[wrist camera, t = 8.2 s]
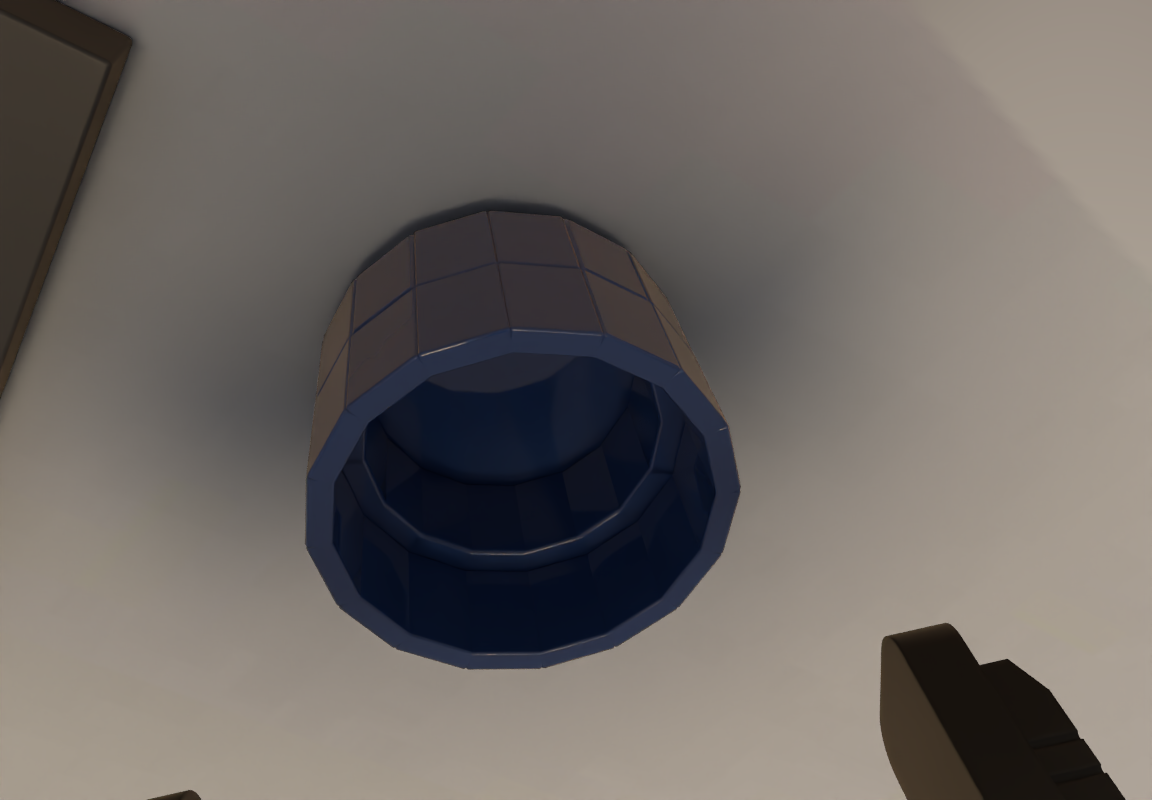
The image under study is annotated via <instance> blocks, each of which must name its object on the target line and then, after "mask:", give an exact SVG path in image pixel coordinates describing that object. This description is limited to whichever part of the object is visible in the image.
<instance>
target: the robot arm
mask: <svg viewBox="0 0 1152 800" xmlns="http://www.w3.org/2000/svg"><path fill="white" fill-rule="evenodd" d="M880 725H881V732H882V737H883V741H884V745H885V749H886V752H887V755H888V758H889V761H890V764H891V766H892V769H893V771H894V773H895V775H896V778H897V780H898V782H899V784H900V786H901V788H902V790H903V792H904V794H905V796H906V798H907V800H1125V798H1124V797H1123V795H1122V794H1121V792H1120V791H1119V790H1118V788H1117V787H1116V785H1115V784H1114V782H1113V781H1112V779H1111V778H1110V777H1109V775H1108V774H1107V773H1104V772H1103V770H1102V768H1101V764H1100V762H1099V761H1098V759H1097V758H1096V756H1095V755H1094V754H1093V752H1092V751H1091V749H1090V748H1089V746H1088V745H1087V743H1086V742H1085V741H1084V739H1080V737H1079V735H1078V730H1077V729H1076V728H1075V726H1074V725H1073V723H1072V722H1071V720H1070V719H1069V718H1068V716H1067V715H1066V713H1065V712H1064V710H1063V709H1062V707H1061V706H1060V705H1059V703H1058V702H1057V700H1056V699H1055V697H1054V696H1053V694H1052V693H1051V692H1050V690H1049V689H1047V688H1046V687H1045V686H1043V685H1042V684H1041V683H1039V682H1038V681H1037V680H1035V679H1034V678H1033V677H1031V676H1030V675H1028V674H1027V673H1026V672H1024V671H1023V670H1022V669H1020V668H1019V667H1018V666H1016V665H1015V664H1014V663H1012V662H1011V661H1010V660H1008V659H1005V660H1000V661H996V662H992V663H987V664H983V665H979V664H978V662H977V660H976V659H975V657H974V656H973V654H972V653H971V651H970V649H969V648H968V646H967V645H966V643H965V642H964V640H963V639H962V637H961V636H960V634H959V633H958V631H957V630H956V629H955V628H954V627H953V626H952V625H950V624H948V623H943V624H938V625H934V626H929V627H925V628H920V629H916V630H911V631H907V632H903V633H898V634H894V635H889V636H886V637H884V639H883V641H882V648H881V690H880ZM148 800H201V798H200V797H199V795H198V794H197V793H196V792H194V791H192V790H188V791H183V792H179V793H174V794H170V795H166V796H161V797H157V798H152V799H148Z"/></svg>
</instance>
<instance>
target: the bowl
mask: <svg viewBox="0 0 1152 800" xmlns="http://www.w3.org/2000/svg"><path fill="white" fill-rule="evenodd" d="M740 488H741V485H740V480H739V475H738V470H737V465H736V460H735V455H734V450H733V445H732V439H731V434H730V429H729V425H728V423H727V421H726V419H725V417H724V415H723V413H722V411H721V409H720V407H719V405H718V402H717V400H716V398H715V396H714V394H713V392H712V390H711V388H710V386H709V384H708V382H707V380H706V378H705V376H704V373H703V371H702V369H701V367H700V365H699V363H698V361H697V359H696V357H695V355H694V353H693V351H692V349H691V347H690V345H689V343H688V341H687V339H686V337H685V335H684V333H683V331H682V328H681V326H680V324H679V322H678V320H677V318H676V316H675V314H674V312H673V310H672V308H671V306H670V304H669V301H668V299H667V297H666V296H665V295H664V294H663V292H662V291H661V290H660V289H659V287H658V286H657V285H656V284H655V282H654V281H653V280H652V279H651V277H650V276H649V275H648V274H647V272H646V271H645V270H644V269H643V267H642V266H641V265H640V264H639V262H638V261H637V260H636V259H635V257H634V256H633V255H632V254H631V252H629V251H626V250H625V249H624V248H623V247H621V246H620V245H618V244H616V243H614V242H612V241H610V240H608V239H606V238H604V237H602V236H600V235H598V234H596V233H594V232H592V231H590V230H588V229H586V228H584V227H582V226H580V225H578V224H576V223H574V222H572V221H570V220H566V219H565V220H564V219H563V217H561V216H549V215H537V214H525V213H513V212H501V211H489V212H487V211H483V212H480V213H476V214H473V215H469V216H466V217H463V218H459V219H456V220H452V221H449V222H446V223H442V224H439V225H435V226H432V227H428V228H425V229H422V230H418V231H415V232H414V235H410V236H408V237H407V238H405V239H404V240H403V241H402V242H400V243H399V244H398V245H397V246H395V247H394V248H393V249H392V250H390V251H389V252H388V253H386V254H385V255H384V256H383V257H381V258H380V259H379V260H378V261H376V262H375V263H374V264H372V265H371V266H370V267H369V268H367V269H366V270H365V271H364V272H362V273H361V274H360V275H358V277H357V279H356V280H354V281H352V283H351V285H350V287H349V289H348V291H347V293H346V295H345V296H344V298H343V300H342V302H341V304H340V306H339V308H338V310H337V312H336V314H335V316H334V317H333V319H332V321H331V323H330V325H329V327H328V329H327V331H326V333H325V335H324V339H323V342H322V348H321V357H320V365H319V373H318V382H317V390H316V399H315V406H314V415H313V423H312V432H311V440H310V448H309V457H308V465H307V474H306V509H305V545H306V549H307V551H308V553H309V555H310V556H311V558H312V560H313V562H314V564H315V566H316V567H317V569H318V571H319V573H320V575H321V577H322V578H323V580H324V582H325V584H326V586H327V588H328V589H329V591H330V593H331V595H332V597H333V599H334V601H335V602H336V604H337V605H338V606H339V608H340V609H341V610H343V611H344V612H345V613H347V614H348V615H349V616H351V617H352V618H354V619H355V620H356V621H358V622H359V623H360V624H362V625H363V626H364V627H366V628H367V629H368V630H370V631H371V632H373V633H374V634H375V635H377V636H378V637H379V638H381V639H382V640H383V641H385V642H386V643H387V644H389V645H390V646H392V647H393V648H396V649H397V650H401V651H404V652H407V653H411V654H414V655H418V656H421V657H424V658H428V659H431V660H435V661H438V662H442V663H445V664H448V665H452V666H455V667H459V668H462V669H465V668H467V669H468V670H474V669H541V668H547V667H550V666H554V665H557V664H561V663H564V662H568V661H571V660H575V659H578V658H582V657H585V656H589V655H592V654H595V653H599V652H602V651H606V650H609V649H613V648H614V646H615V647H617V646H619V645H621V644H622V643H624V642H625V641H627V640H629V639H630V638H632V637H633V636H635V635H637V634H638V633H640V632H641V631H643V630H645V629H646V628H648V627H649V626H651V625H652V624H654V623H656V622H657V621H659V620H660V619H662V618H664V617H665V616H667V615H668V614H670V613H672V612H673V611H675V610H676V609H677V607H680V605H681V604H682V603H683V602H684V600H685V599H686V598H687V597H688V596H689V594H690V593H691V592H692V591H693V589H694V588H695V587H696V586H697V585H698V583H699V582H700V581H701V580H702V578H703V577H704V576H705V575H706V574H707V572H708V571H709V570H710V569H711V567H712V566H713V565H714V564H715V563H716V561H717V560H718V559H719V558H720V556H721V553H723V550H724V547H725V543H726V540H727V537H728V533H729V530H730V526H731V523H732V520H733V516H734V513H735V509H736V506H737V503H738V499H739V496H740V492H741V491H740Z"/></svg>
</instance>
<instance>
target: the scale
mask: <svg viewBox="0 0 1152 800" xmlns="http://www.w3.org/2000/svg"><path fill="white" fill-rule="evenodd" d="M131 46H132V40H131V39H130V38H129V37H128V36H126V35H124V34H122V33H120V32H118V31H116V30H114V29H112V28H110V27H108V26H106V25H104V24H102V23H100V22H98V21H96V20H94V19H92V18H89V17H87V16H85V15H83V14H81V13H79V12H77V11H75V10H73V9H71V8H69V7H67V6H65V5H63V4H61V3H59V2H57V1H55V0H0V398H1V395H2V393H3V390H4V387H5V385H6V382H7V379H8V377H9V374H10V371H11V368H12V366H13V363H14V360H15V358H16V355H17V352H18V350H19V347H20V344H21V342H22V339H23V336H24V333H25V331H26V328H27V325H28V323H29V320H30V317H31V315H32V312H33V309H34V307H35V304H36V301H37V298H38V296H39V293H40V290H41V288H42V285H43V282H44V280H45V277H46V274H47V272H48V269H49V266H50V264H51V261H52V258H53V255H54V253H55V250H56V247H57V245H58V242H59V239H60V237H61V234H62V231H63V229H64V226H65V223H66V220H67V218H68V215H69V212H70V210H71V207H72V204H73V202H74V199H75V196H76V194H77V191H78V188H79V185H80V183H81V180H82V177H83V175H84V172H85V169H86V167H87V164H88V161H89V159H90V156H91V153H92V150H93V148H94V145H95V142H96V140H97V137H98V134H99V132H100V129H101V126H102V124H103V121H104V118H105V116H106V113H107V110H108V107H109V105H110V102H111V99H112V97H113V94H114V91H115V89H116V86H117V83H118V81H119V78H120V75H121V72H122V70H123V67H124V64H125V62H126V59H127V56H128V54H129V51H130V48H131Z"/></svg>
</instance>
